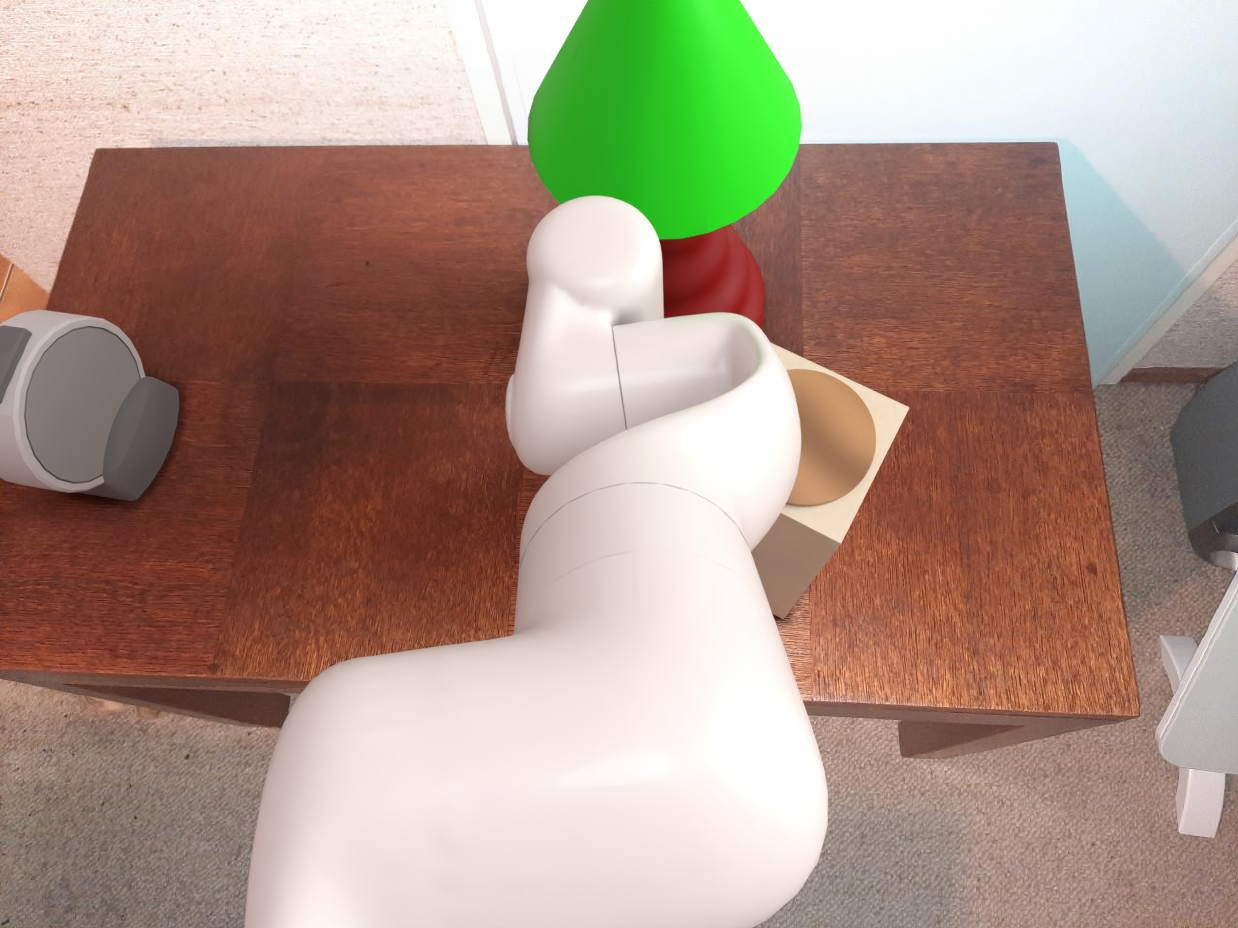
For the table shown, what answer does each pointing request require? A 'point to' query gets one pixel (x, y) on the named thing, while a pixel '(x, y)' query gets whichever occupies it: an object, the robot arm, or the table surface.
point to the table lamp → (672, 135)
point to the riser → (818, 509)
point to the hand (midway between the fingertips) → (623, 447)
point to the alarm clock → (80, 407)
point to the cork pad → (830, 438)
